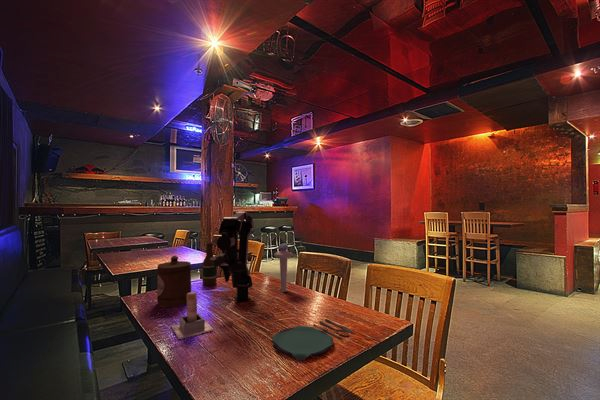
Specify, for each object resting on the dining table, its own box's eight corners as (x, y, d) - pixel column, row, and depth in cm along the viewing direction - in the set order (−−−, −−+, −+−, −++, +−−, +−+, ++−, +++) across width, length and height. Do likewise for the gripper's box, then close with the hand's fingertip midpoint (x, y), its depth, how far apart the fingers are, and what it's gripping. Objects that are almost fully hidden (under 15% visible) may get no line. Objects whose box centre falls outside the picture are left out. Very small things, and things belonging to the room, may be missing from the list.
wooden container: (160, 298, 142) (160, 254, 142) (192, 295, 146) (192, 252, 146) (154, 309, 128) (154, 259, 128) (189, 306, 132) (189, 258, 132)
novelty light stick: (287, 295, 146) (287, 246, 146) (270, 292, 151) (270, 245, 151) (296, 289, 155) (296, 243, 155) (280, 287, 160) (280, 242, 160)
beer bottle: (219, 283, 169) (219, 242, 169) (211, 286, 161) (211, 244, 162) (208, 281, 171) (208, 241, 171) (199, 285, 164) (199, 243, 164)
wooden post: (188, 325, 109) (188, 292, 109) (198, 324, 110) (197, 291, 110) (185, 329, 106) (185, 295, 106) (195, 328, 106) (195, 294, 106)
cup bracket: (171, 327, 109) (171, 317, 109) (203, 320, 116) (203, 310, 116) (178, 340, 99) (178, 328, 99) (213, 331, 106) (213, 320, 106)
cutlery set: (261, 342, 98) (261, 336, 98) (324, 320, 117) (324, 314, 117) (298, 369, 82) (299, 361, 82) (363, 338, 102) (364, 332, 102)
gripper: (205, 246, 124) (204, 282, 124) (219, 251, 109) (219, 293, 108) (229, 244, 130) (229, 278, 130) (247, 249, 115) (247, 288, 115)
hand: (230, 284), depth 121 cm, fingers open, 9 cm apart
